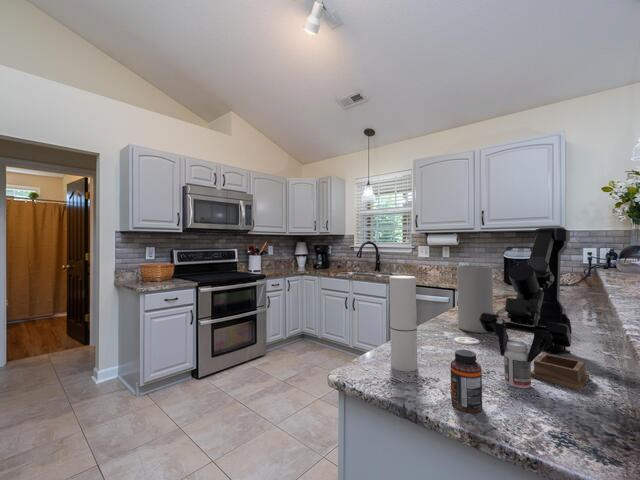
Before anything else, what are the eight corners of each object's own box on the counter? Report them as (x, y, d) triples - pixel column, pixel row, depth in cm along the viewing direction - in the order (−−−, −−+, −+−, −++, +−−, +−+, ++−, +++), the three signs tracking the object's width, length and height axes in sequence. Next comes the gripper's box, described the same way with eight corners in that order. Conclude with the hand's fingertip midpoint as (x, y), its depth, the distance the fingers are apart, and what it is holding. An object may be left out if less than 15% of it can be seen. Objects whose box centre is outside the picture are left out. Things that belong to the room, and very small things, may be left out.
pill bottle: (535, 385, 73) (534, 344, 73) (525, 391, 70) (523, 348, 70) (511, 377, 77) (510, 338, 77) (500, 382, 74) (499, 342, 74)
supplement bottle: (447, 398, 67) (446, 347, 67) (475, 399, 66) (474, 347, 67) (456, 413, 61) (455, 356, 61) (487, 415, 60) (486, 357, 61)
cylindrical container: (417, 363, 87) (416, 275, 88) (417, 373, 81) (415, 278, 81) (392, 360, 90) (390, 275, 90) (389, 369, 83) (388, 277, 83)
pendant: (450, 339, 109) (450, 337, 109) (479, 338, 110) (479, 336, 110) (460, 346, 102) (460, 343, 102) (491, 345, 103) (491, 342, 103)
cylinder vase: (451, 327, 124) (450, 266, 125) (472, 323, 130) (471, 264, 130) (478, 335, 113) (477, 268, 113) (500, 331, 118) (499, 266, 119)
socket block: (541, 366, 84) (540, 351, 84) (589, 377, 76) (588, 361, 76) (530, 376, 77) (529, 361, 77) (581, 390, 70) (580, 373, 70)
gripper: (481, 282, 84) (464, 330, 76) (567, 289, 70) (557, 349, 62) (492, 307, 89) (478, 354, 81) (575, 318, 75) (566, 376, 67)
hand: (515, 358), depth 73 cm, fingers closed on pill bottle, 5 cm apart
